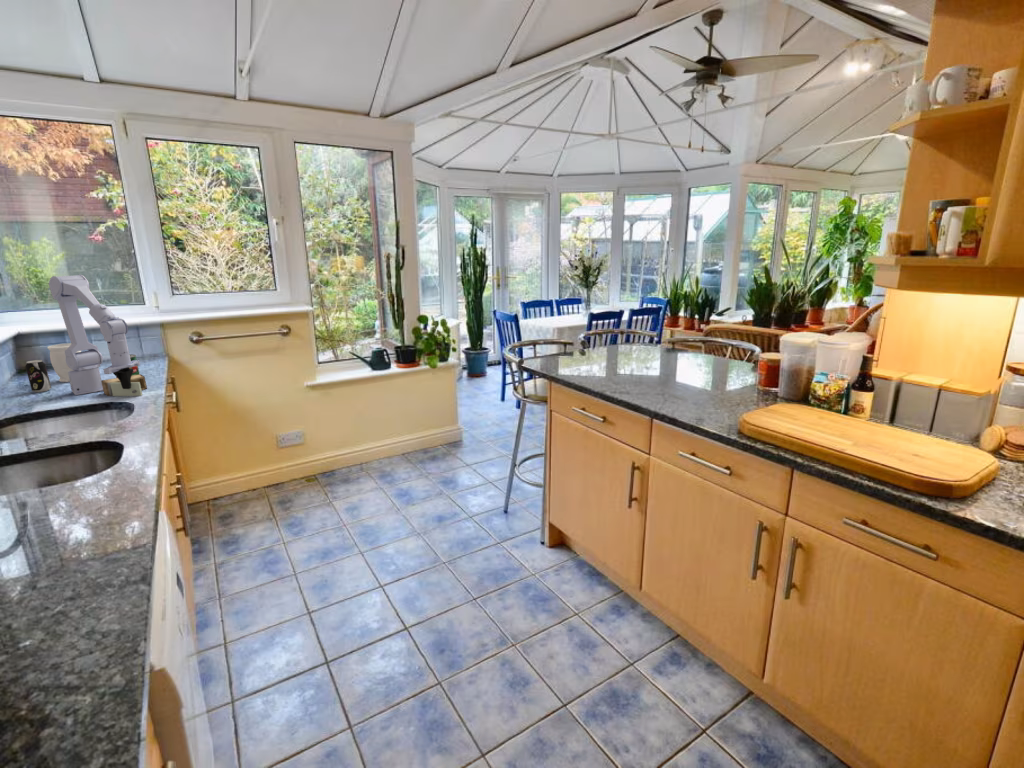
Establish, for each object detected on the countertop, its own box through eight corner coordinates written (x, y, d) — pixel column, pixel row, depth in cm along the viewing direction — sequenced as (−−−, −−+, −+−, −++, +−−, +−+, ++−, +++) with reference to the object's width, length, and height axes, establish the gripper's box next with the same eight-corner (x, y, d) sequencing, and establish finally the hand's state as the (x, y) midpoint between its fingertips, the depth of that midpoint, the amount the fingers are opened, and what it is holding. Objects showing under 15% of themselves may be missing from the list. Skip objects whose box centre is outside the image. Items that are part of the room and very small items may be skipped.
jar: (94, 377, 220) (86, 342, 216) (72, 383, 210) (63, 347, 206) (72, 376, 221) (63, 342, 217) (49, 382, 211) (39, 347, 207)
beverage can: (54, 390, 200) (46, 360, 197) (34, 393, 195) (26, 363, 192) (49, 388, 203) (41, 358, 200) (30, 391, 198) (22, 361, 195)
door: (107, 396, 190) (104, 383, 189) (111, 395, 192) (108, 382, 191) (139, 396, 190) (136, 383, 189) (142, 395, 192) (140, 382, 191)
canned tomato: (128, 385, 206) (122, 358, 203) (112, 384, 207) (106, 358, 205) (145, 380, 213) (140, 354, 210) (130, 379, 215) (124, 354, 212)
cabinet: (107, 396, 191) (104, 383, 190) (104, 393, 195) (101, 380, 194) (147, 388, 200) (144, 376, 199) (143, 386, 204) (140, 374, 203)
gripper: (114, 356, 179) (122, 393, 183) (144, 348, 193) (151, 383, 197) (94, 356, 179) (103, 393, 183) (126, 349, 193) (134, 383, 197)
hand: (127, 388), depth 190 cm, fingers closed, pressing on door
